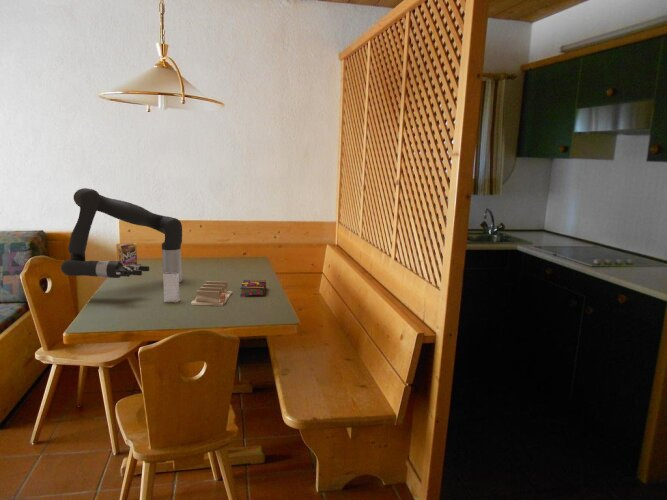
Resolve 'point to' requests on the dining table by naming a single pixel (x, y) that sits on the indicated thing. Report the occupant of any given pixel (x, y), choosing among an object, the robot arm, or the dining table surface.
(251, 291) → the decorative book
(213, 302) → the slot rack
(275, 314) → the dining table surface
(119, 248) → the candy box
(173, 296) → the aluminium block
